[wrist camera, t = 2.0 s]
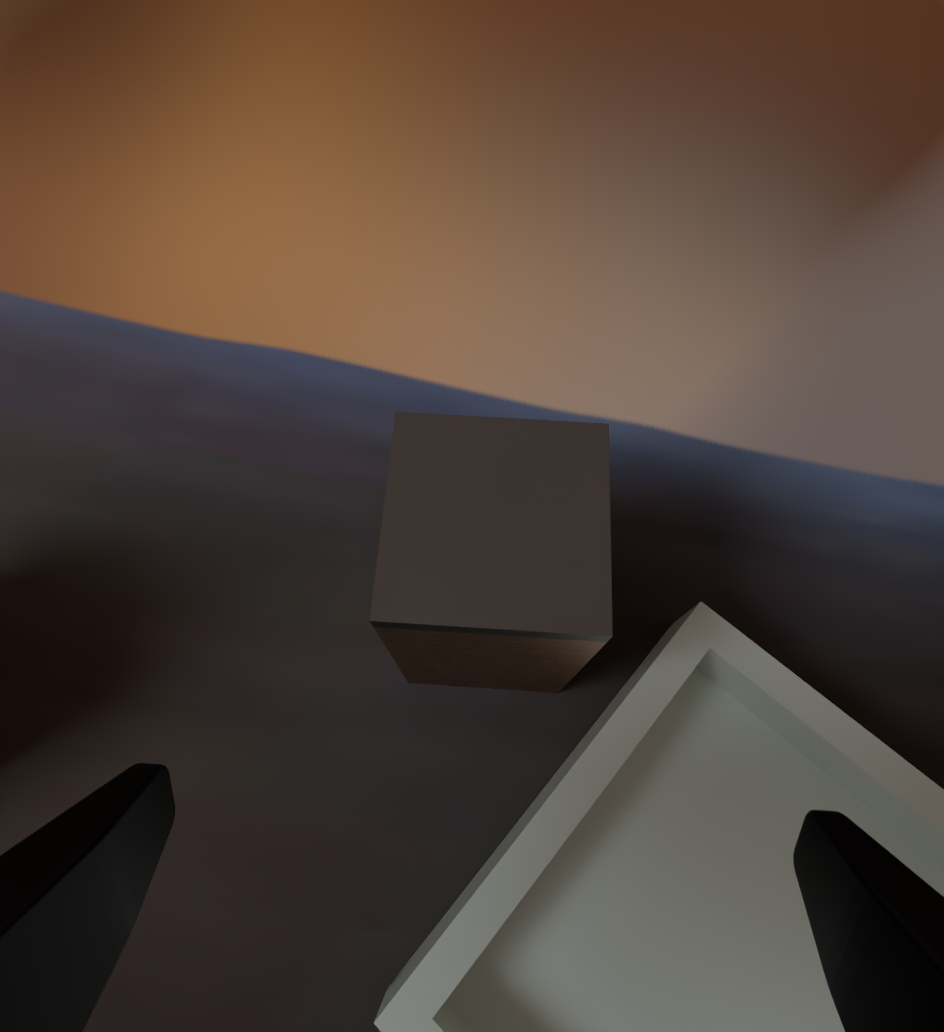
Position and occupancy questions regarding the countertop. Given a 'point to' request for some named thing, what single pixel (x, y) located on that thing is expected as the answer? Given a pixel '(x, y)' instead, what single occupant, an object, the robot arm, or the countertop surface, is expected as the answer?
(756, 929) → the tray
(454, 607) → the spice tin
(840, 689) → the countertop surface
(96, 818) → the robot arm
